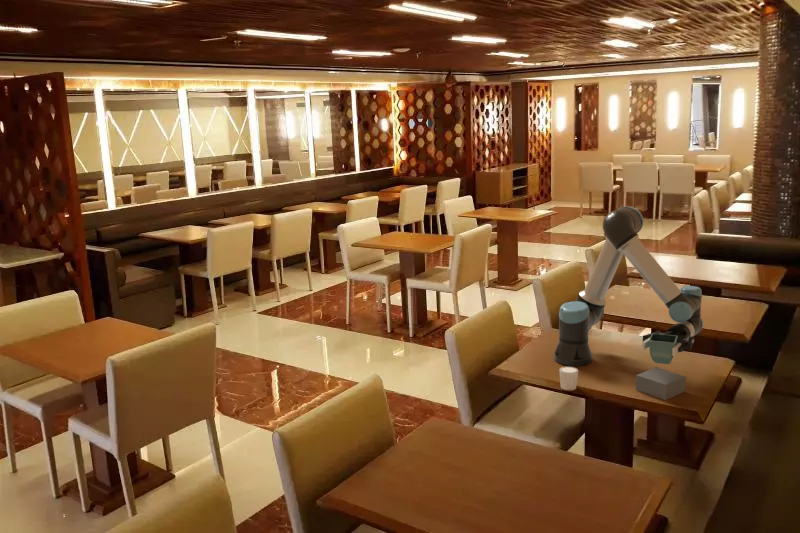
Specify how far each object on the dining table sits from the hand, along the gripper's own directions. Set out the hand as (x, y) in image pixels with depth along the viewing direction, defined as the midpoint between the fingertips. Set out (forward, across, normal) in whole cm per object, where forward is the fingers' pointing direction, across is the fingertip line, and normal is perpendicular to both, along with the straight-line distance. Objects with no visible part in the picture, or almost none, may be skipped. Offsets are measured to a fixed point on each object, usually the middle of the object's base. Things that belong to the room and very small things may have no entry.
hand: (658, 349), depth 235 cm
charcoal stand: (-4, 0, -17) cm, 18 cm away
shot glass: (+13, +28, -17) cm, 35 cm away
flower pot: (-4, 0, -6) cm, 8 cm away
